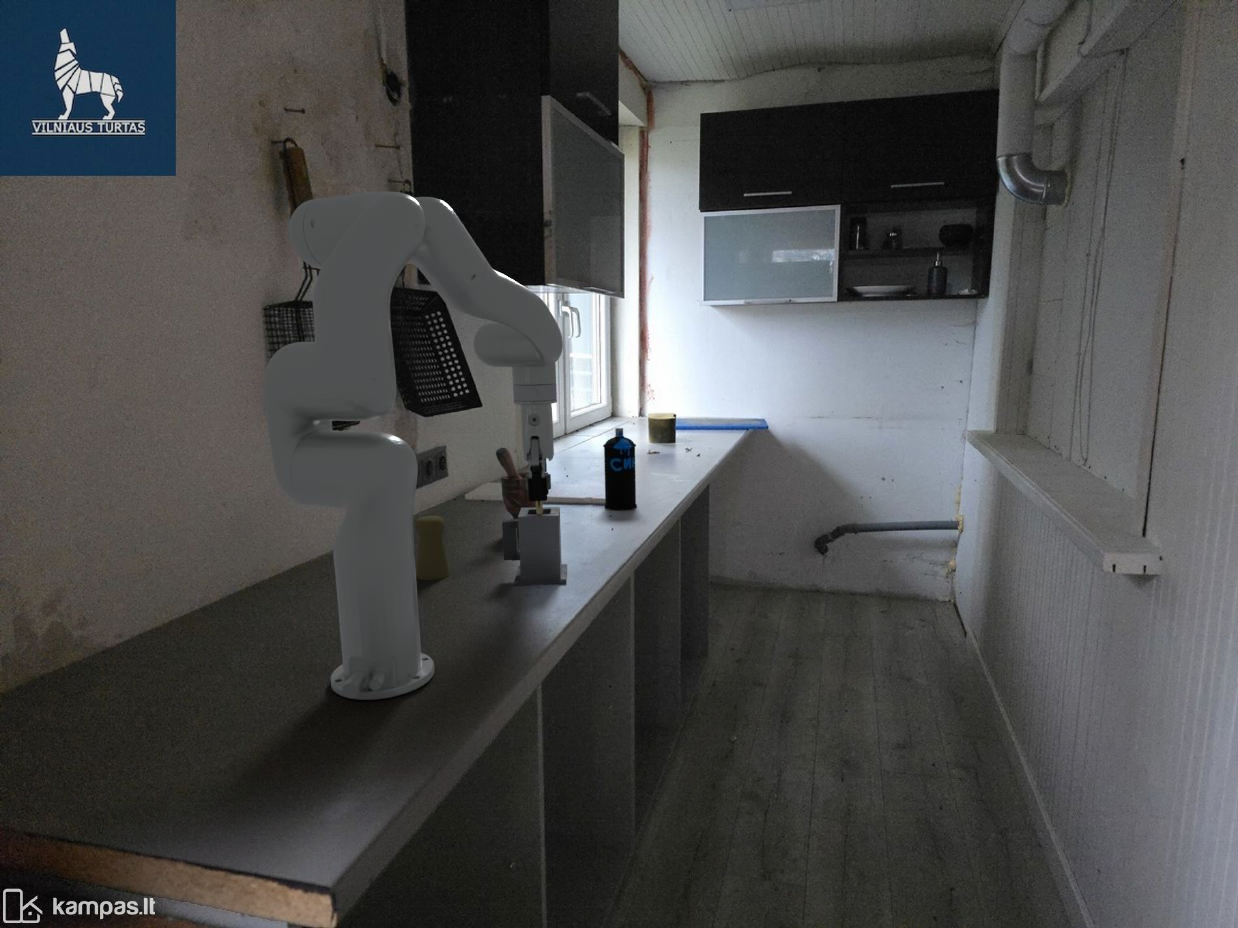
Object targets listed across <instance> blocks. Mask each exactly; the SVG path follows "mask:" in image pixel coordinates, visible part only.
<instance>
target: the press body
mask: <svg viewBox="0 0 1238 928" xmlns="http://www.w3.org/2000/svg"><path fill="white" fill-rule="evenodd" d="M501 528H502V547H503V549H502V550H503V551H502V552H503V553H502V554H503V561H519V565H518V567H517V570H516V573H515V574H516V575H515V579H514V586H534V585H535V586H538V585H539V586H541V585H563V584H565V585H566V584H567V579H568V564H566V563H564V564H563V562H562V540H561V539H562V538H561V537H562V534H561V530H562V529H561V507H560V506H547V507H546V506H543V514H536V507H535V508H521V510H520V513H519V516H518V519H513V518H511V519H503V520H502V521H501ZM517 528H519V537H518V536H517ZM518 545H519V548H518Z"/></svg>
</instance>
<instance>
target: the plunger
mask: <svg viewBox="0 0 1238 928" xmlns="http://www.w3.org/2000/svg"><path fill="white" fill-rule="evenodd" d="M528 478H529V474H527V475H526V490H528ZM545 478H547V490H551V489H552V478H551V473H549V472H548V473H547V472H545ZM543 502H544V501H536V514H543V507H544V505H543Z"/></svg>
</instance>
